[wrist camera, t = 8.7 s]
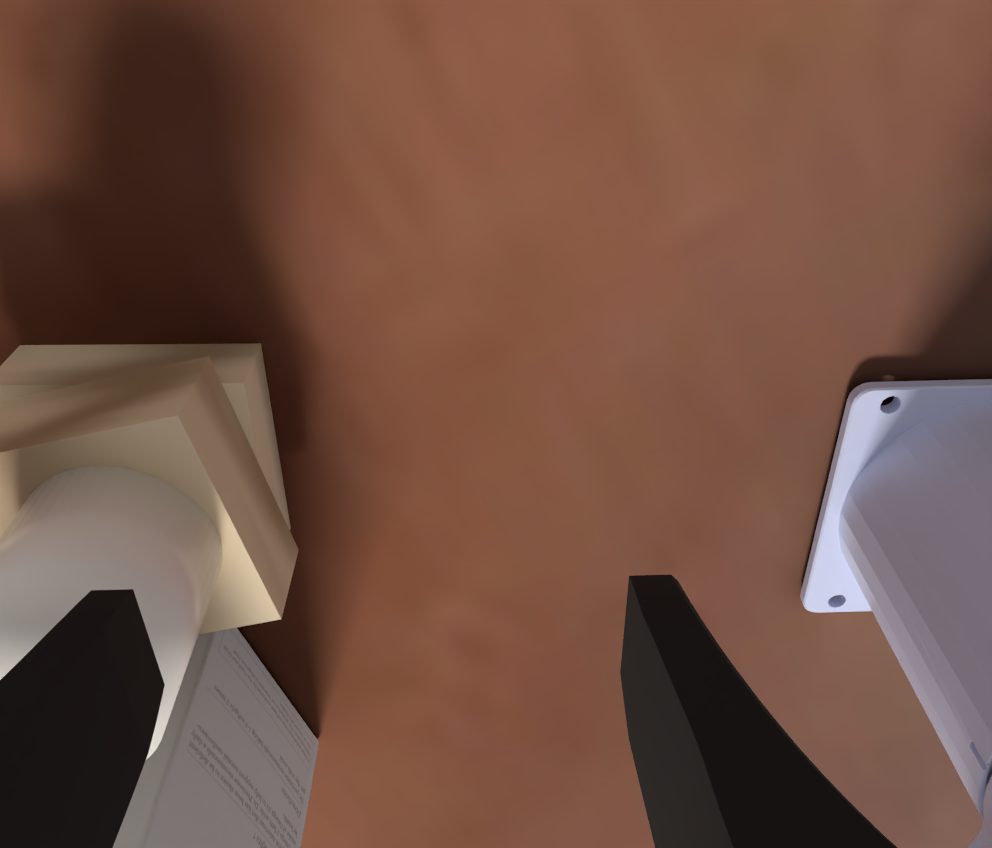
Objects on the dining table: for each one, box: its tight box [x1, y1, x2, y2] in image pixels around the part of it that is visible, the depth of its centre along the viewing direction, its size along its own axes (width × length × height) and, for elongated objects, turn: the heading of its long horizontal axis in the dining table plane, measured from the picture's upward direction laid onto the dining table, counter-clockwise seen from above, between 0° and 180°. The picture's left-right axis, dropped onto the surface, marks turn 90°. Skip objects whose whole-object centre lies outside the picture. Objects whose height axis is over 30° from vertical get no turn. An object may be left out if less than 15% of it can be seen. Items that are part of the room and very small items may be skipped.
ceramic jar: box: [0, 466, 223, 760], centre depth 18 cm, size 4×4×4 cm
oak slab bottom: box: [0, 343, 291, 530], centre depth 23 cm, size 6×6×2 cm
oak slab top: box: [0, 356, 299, 634], centre depth 21 cm, size 6×6×2 cm
